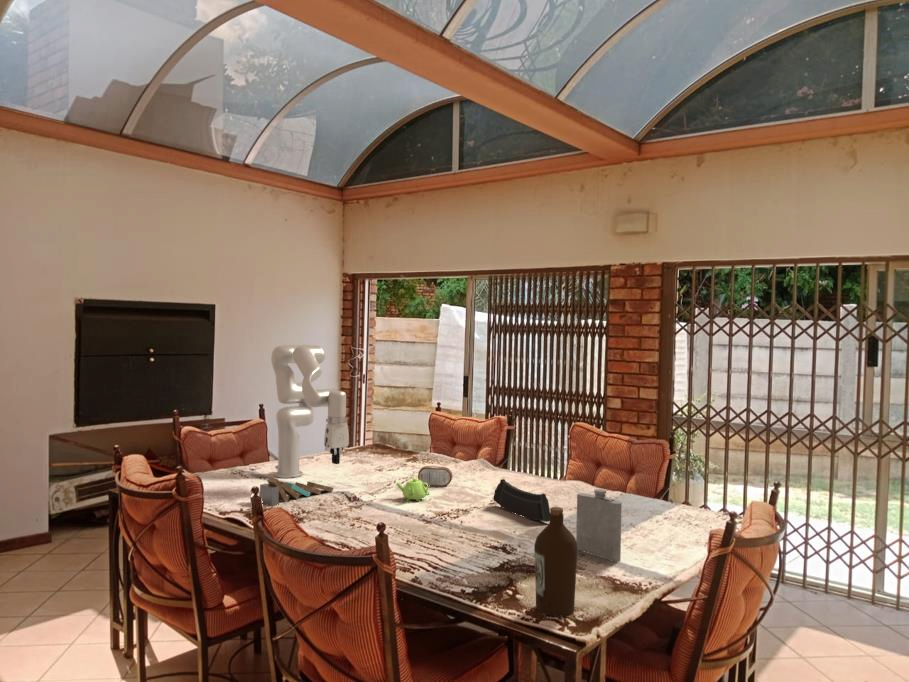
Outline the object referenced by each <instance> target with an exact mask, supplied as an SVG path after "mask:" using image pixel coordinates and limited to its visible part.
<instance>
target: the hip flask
mask: <svg viewBox="0 0 909 682" xmlns="http://www.w3.org/2000/svg"><path fill="white" fill-rule="evenodd" d="M593 492H594V494H590V493H584V492H579V493H577V494H576V531H575V532H576V536H575V539H576V542H577V546H578V550H581V551H580V552H582V551H585V552H584V553H586V552H589V553H588V554H590V553H592V554H591V555H594V554H595V555H594V556H597V555H598V556H597V557H600V556H601V557H600V558H603V557H604V558H603V559H606V558H607V559H606V560H608V559H609V561H610V560H612V561H611V562H614V561H619V562H621V556H622V555H621V554H622V553H621V551H622V550H621V549H622V547H621V546H622V543H621V542H622V541H621V540H622V504H623V503H622V501H620V500H616V499H614V498H611V497H608V496H607V495H606V494H607V490H606V489H603V488H596V489H595V488H594V491H593Z"/></svg>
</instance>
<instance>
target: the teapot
mask: <svg viewBox="0 0 909 682" xmlns="http://www.w3.org/2000/svg"><path fill="white" fill-rule="evenodd" d="M424 484H426V485H427V486H425V485H424ZM396 487H398V488H399V489H400V491H401V492H402V495H403V497H404V498H405V499H406V500H407V502H410V501H411V500H415V502H417V501H420V502H421V500H423V499H424V498H425V497H426V496H430V491H429V487H430V486H428V484H427V483H422V481H421V480H418V478H416V477H415V478H412V479H411V480H407V482H406V484H405V485H404V486H403V485H402V484H401V483H400V482H398V483H396ZM422 498H423V499H422Z"/></svg>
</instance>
